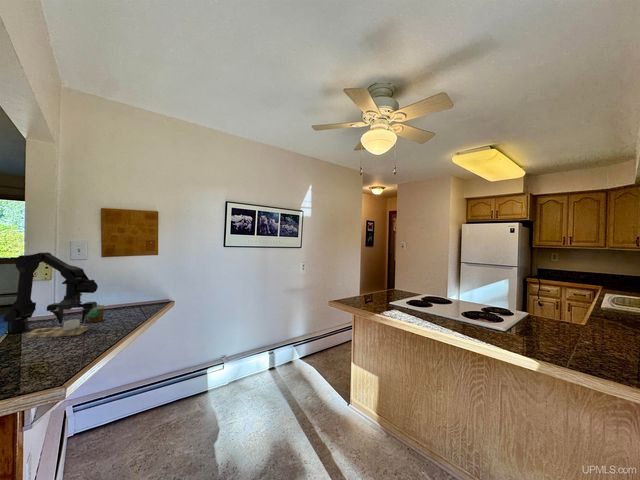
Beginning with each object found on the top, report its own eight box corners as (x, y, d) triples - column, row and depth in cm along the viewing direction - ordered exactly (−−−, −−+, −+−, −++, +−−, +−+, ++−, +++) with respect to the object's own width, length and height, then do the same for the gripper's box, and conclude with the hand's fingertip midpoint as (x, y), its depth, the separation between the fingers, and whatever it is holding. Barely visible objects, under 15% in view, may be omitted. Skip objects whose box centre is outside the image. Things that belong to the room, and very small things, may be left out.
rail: (24, 338, 128) (25, 334, 128) (37, 332, 137) (37, 328, 137) (78, 334, 135) (78, 330, 135) (87, 329, 143) (87, 325, 143)
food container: (81, 321, 158) (81, 304, 158) (93, 319, 163) (94, 302, 163) (91, 324, 152) (91, 307, 152) (103, 322, 157) (104, 305, 158)
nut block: (63, 334, 135) (63, 322, 135) (68, 331, 139) (68, 319, 139) (74, 333, 136) (74, 321, 136) (79, 330, 140) (79, 319, 141)
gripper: (39, 296, 127) (38, 328, 127) (87, 294, 133) (86, 326, 133) (54, 292, 138) (52, 322, 138) (98, 291, 144) (96, 320, 144)
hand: (72, 322), depth 138 cm, fingers open, 9 cm apart
